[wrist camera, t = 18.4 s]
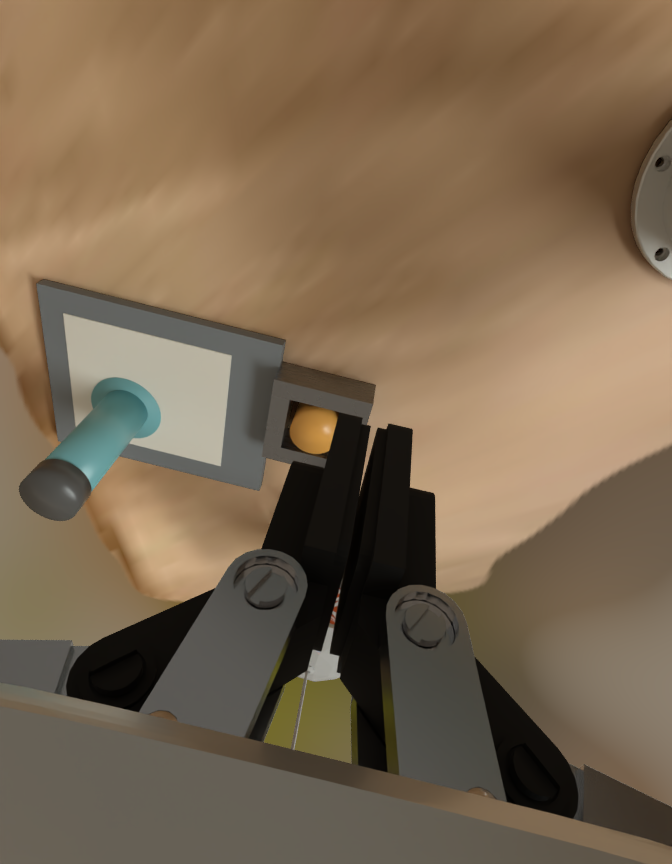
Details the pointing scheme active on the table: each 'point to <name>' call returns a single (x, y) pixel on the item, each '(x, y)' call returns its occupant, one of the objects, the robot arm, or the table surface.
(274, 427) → the button housing
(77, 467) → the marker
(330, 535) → the robot arm
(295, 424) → the button
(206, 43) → the table surface
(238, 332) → the drawing board
